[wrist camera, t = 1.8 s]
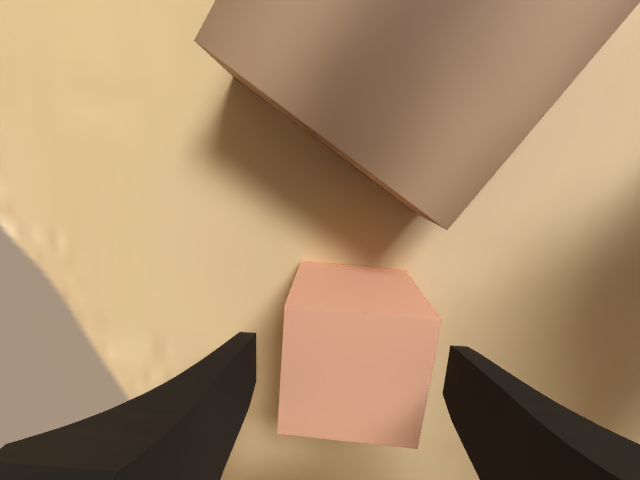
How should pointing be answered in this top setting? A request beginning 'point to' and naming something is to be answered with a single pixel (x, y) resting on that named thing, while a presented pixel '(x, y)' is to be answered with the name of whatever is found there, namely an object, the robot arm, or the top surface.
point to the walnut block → (413, 79)
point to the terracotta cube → (356, 355)
